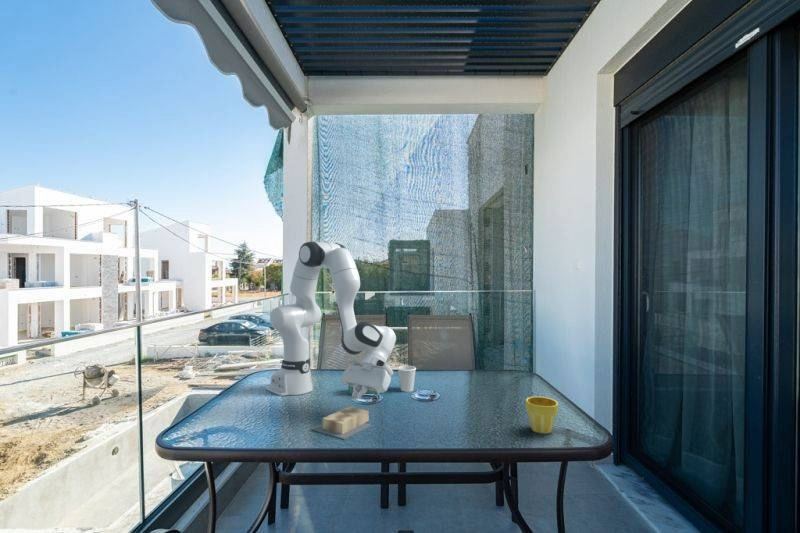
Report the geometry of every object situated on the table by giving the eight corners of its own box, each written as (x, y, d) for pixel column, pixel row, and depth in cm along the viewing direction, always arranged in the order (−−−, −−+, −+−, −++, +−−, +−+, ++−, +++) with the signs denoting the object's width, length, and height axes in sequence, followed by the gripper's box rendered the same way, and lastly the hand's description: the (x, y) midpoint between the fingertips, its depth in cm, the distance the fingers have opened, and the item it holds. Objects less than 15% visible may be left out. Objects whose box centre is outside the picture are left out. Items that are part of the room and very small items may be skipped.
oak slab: (349, 415, 152) (322, 428, 141) (349, 406, 152) (322, 418, 141) (368, 420, 147) (342, 434, 136) (368, 411, 147) (342, 423, 136)
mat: (311, 429, 140) (311, 428, 140) (339, 417, 152) (339, 416, 152) (344, 439, 132) (344, 438, 132) (371, 425, 144) (371, 424, 144)
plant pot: (561, 437, 133) (560, 407, 133) (527, 435, 135) (527, 405, 135) (554, 425, 144) (554, 397, 144) (524, 423, 145) (523, 395, 145)
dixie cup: (416, 392, 181) (416, 370, 181) (397, 392, 181) (397, 370, 181) (416, 387, 190) (415, 365, 190) (397, 387, 190) (397, 365, 190)
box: (377, 397, 176) (377, 379, 176) (348, 394, 179) (348, 377, 179) (382, 392, 183) (382, 375, 183) (354, 390, 186) (354, 373, 186)
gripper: (347, 357, 160) (330, 388, 152) (390, 363, 149) (373, 398, 141) (355, 366, 164) (338, 397, 156) (397, 373, 152) (381, 407, 144)
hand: (355, 397), depth 148 cm, fingers closed
